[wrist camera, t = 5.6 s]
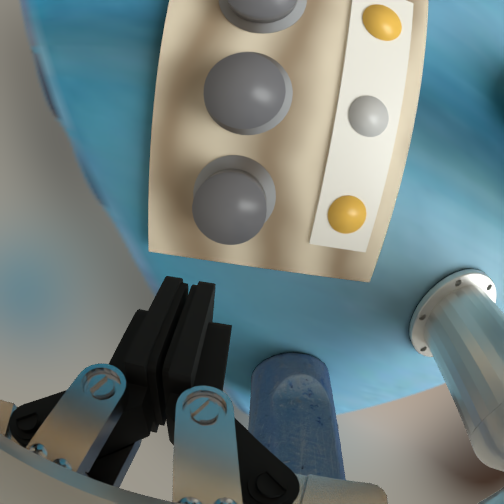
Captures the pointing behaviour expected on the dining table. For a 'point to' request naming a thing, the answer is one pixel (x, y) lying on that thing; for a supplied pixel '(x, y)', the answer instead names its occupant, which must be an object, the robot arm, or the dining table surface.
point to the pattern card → (364, 123)
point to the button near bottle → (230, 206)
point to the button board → (264, 133)
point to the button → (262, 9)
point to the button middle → (244, 90)
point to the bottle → (296, 414)
